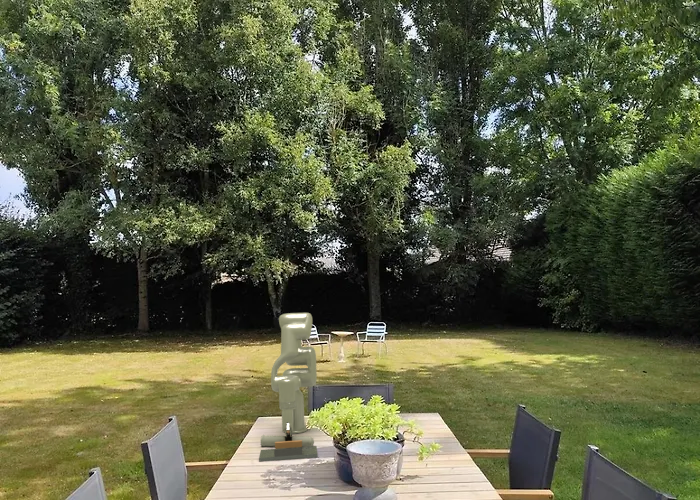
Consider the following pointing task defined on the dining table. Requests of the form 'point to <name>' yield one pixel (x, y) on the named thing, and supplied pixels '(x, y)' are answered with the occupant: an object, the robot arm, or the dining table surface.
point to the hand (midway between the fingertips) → (288, 442)
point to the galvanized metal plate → (288, 453)
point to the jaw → (288, 444)
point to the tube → (271, 440)
